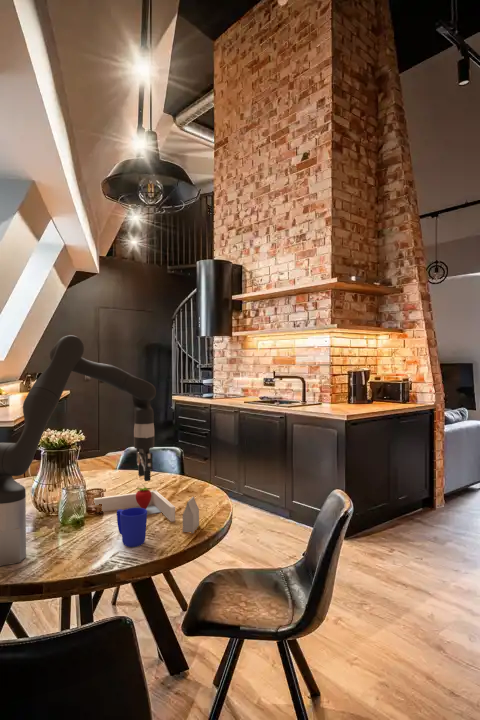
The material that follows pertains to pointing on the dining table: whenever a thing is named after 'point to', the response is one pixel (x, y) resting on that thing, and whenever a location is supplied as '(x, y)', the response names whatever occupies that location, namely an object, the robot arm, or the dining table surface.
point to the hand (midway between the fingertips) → (144, 478)
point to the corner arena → (130, 501)
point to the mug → (132, 526)
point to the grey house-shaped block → (191, 516)
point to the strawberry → (143, 497)
